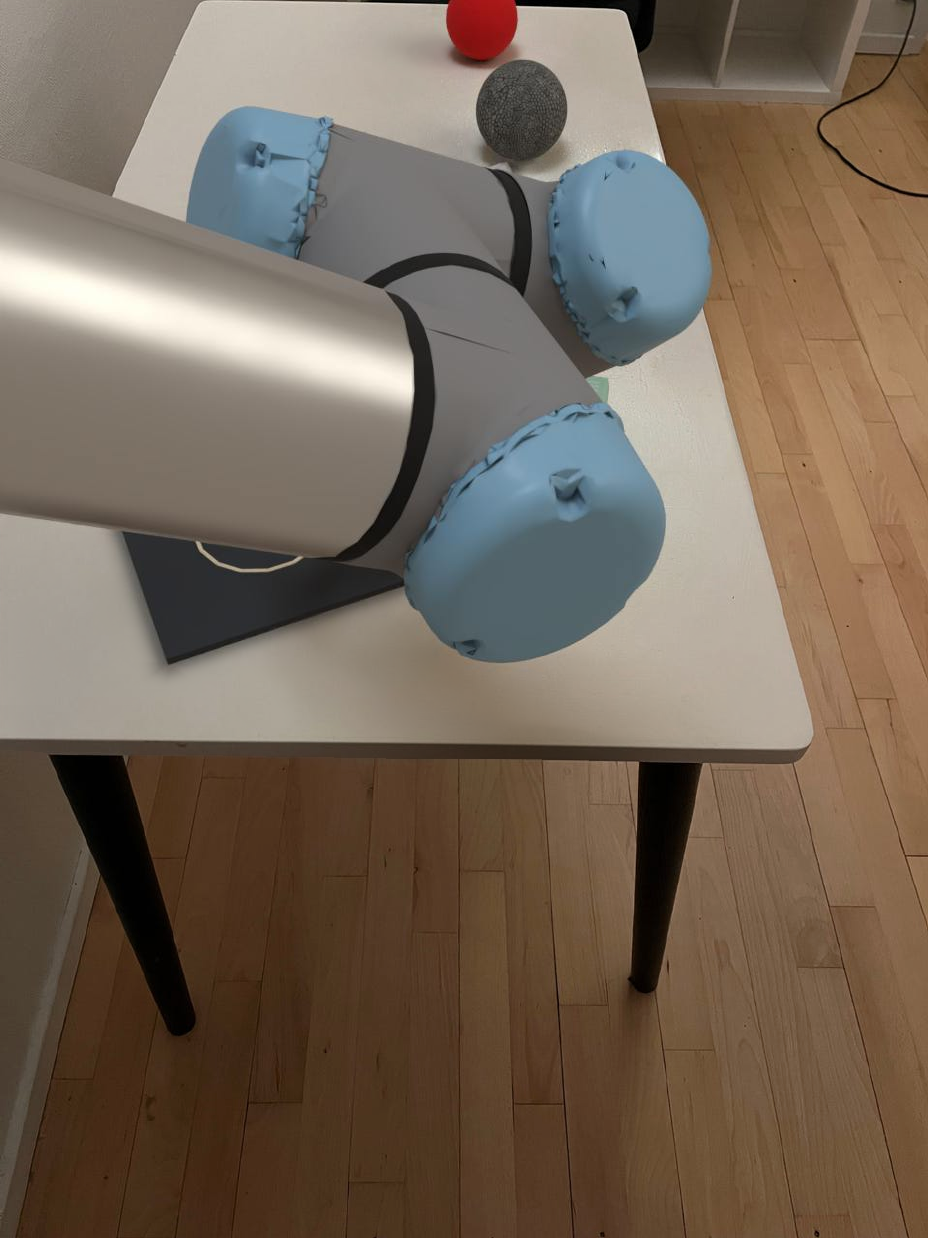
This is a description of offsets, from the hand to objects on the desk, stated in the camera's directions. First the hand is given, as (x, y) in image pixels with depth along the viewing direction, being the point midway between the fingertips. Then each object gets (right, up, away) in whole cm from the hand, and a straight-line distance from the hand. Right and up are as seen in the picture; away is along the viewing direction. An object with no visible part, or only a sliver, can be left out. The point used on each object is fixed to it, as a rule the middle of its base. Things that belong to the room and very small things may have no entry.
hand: (268, 456), depth 72 cm
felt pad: (-2, -4, +10) cm, 11 cm away
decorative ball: (+20, +41, +47) cm, 66 cm away
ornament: (+16, +61, +63) cm, 89 cm away
